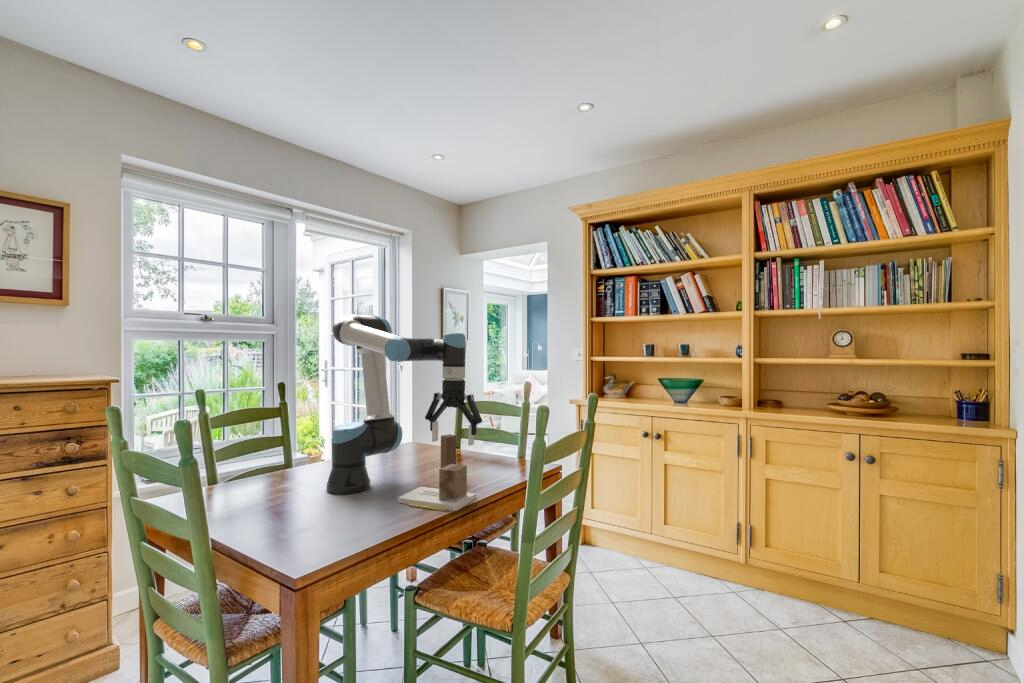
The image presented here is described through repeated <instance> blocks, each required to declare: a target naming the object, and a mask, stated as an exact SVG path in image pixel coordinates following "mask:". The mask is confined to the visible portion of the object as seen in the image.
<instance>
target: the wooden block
mask: <svg viewBox="0 0 1024 683" xmlns="http://www.w3.org/2000/svg"><path fill="white" fill-rule="evenodd" d="M450 464H457V436H456V435H454V434H449V433H448V434H442V435H440V469H441V468H443V467H445V466H448V465H450Z"/></svg>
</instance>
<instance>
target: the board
mask: <svg viewBox="0 0 1024 683" xmlns="http://www.w3.org/2000/svg"><path fill="white" fill-rule="evenodd" d="M476 498H477V493H475V492H467V495H466V496H464V497H463V498H461V499H460V500H458V501H456V502H451V501H444V500H439V488H434V487H427V486H419V487H417V488H415V489H413V490H411V491H409V492H407V493H404V494H402V495H401V496H398V497H397V503H398V504H405V505H409V504H416V505H424V506H431V507H438V508H445V509H449V511H455V512H457V511H459V510H460V509H462V508H463V507H465V506H467V505H468V504H469V503H471V502H472V501H474V500H475V499H476Z"/></svg>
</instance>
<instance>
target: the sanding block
mask: <svg viewBox="0 0 1024 683" xmlns="http://www.w3.org/2000/svg"><path fill="white" fill-rule="evenodd" d="M467 470H468V466H467V465H464V464H457V463H456V464H450V465H448V466H445V467H443V468H441V467H440V468H439V471H438V473H439V474H438V475H439V478H438V480H439V485H438V486H439V488H438V489H439V500H444V501H451V502H456V501H458V500H460V499H461V498H463V497H464V496H466V495H467V491H468V482H467V481H468V480H467V479H468V476H467V475H468V474H467V473H468V472H467Z"/></svg>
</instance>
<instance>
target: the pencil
mask: <svg viewBox="0 0 1024 683" xmlns="http://www.w3.org/2000/svg"><path fill="white" fill-rule="evenodd" d="M408 507H414V508H420V509H426V510H427V509H428V510H435V511H441V512H450V510H449V509H445V508H438V507H431V506H424V505H416V504H408Z"/></svg>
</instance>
